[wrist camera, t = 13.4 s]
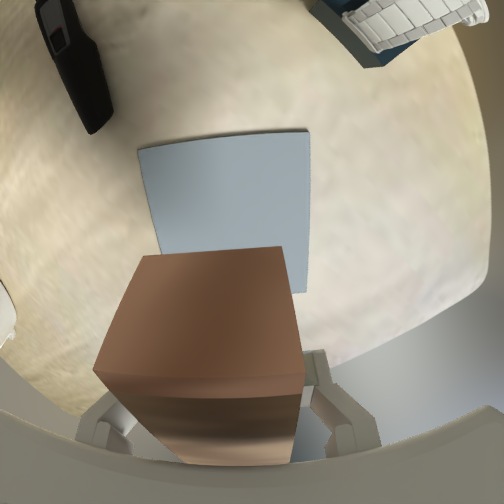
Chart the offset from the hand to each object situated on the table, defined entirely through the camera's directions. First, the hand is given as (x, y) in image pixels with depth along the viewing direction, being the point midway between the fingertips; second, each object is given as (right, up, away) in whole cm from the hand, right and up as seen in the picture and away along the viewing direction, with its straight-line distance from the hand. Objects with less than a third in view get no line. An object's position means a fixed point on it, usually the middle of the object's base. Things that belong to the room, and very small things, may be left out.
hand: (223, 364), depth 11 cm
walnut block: (0, -5, +2) cm, 6 cm away
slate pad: (0, +6, +11) cm, 13 cm away
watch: (+8, +20, +2) cm, 22 cm away
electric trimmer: (-12, +20, +2) cm, 23 cm away
